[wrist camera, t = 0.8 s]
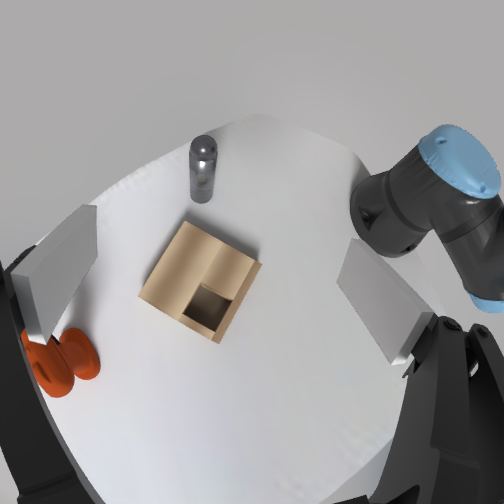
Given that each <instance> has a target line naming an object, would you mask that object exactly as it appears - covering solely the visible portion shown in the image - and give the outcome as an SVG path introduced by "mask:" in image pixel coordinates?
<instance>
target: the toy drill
mask: <svg viewBox="0 0 504 504" xmlns="http://www.w3.org/2000/svg"><path fill="white" fill-rule="evenodd" d="M0 263H1V261H0ZM1 268H2V272H4V269H3V267H2V264H1ZM21 338H22V341H23V344H24V347H25V350H26V353H27V356H28V359H29V362H30V365H31V368H32V370H33V373H34V376H35V378H36V381H37V382H38V383H39V385H40V386H41V387H42V388H43V389H44V391H45V392H46V393H47V394H48V395H50V396H51V397H55V398H59V397H63V396H65V395H67V394H68V393H69V392H70V391H71V390H72V388H73V385H74V381H75V377H74V374H75V375H76V376H77V377H78V378H80V379H83V380H90V379H92V378H94V377H96V376H97V375H98V374H99V371H100V363H99V359H98V357H97V354H96V352H95V350H94V348H93V346H92V344H91V343H90V341H89V339H88V338H87V337H86V335H85V334H84V333H83V332H82V331H80V330H79V329H76V328H71V329H68V330H66V331H65V332H64V333H63V334H62V335H61V336H60V338H59V341H58V340H57V339H56V338H55V337H54V336H53V335H52V334H51V336H50V338H49V340H48V342H47V344H46V345H45V344H41V343H37V342H33V341H30V340H29V338H28V335H27V332H26V329H24V330H23V332H22V334H21Z"/></svg>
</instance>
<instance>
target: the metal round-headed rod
mask: <svg viewBox="0 0 504 504" xmlns="http://www.w3.org/2000/svg"><path fill="white" fill-rule="evenodd" d="M216 161H217V144H216V141H215V140H214V139H213V138H212V137H210V136H208V135H201V136H198V137H196V138H195V139H194V140H193V141H192V143H191V146H190V152H189V163H190V195H191V198H192V200H193V201H195V202H196V203H200V204H202V203H206V202H208V201H209V200H210V199H211V198H212V194H213V185H214V177H215V169H216Z"/></svg>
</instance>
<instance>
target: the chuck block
mask: <svg viewBox="0 0 504 504" xmlns="http://www.w3.org/2000/svg"><path fill="white" fill-rule="evenodd" d="M261 265H262V264H261V263H259V262H257V261H255V260H254V259H252V258H250V257H248V256H247V255H245V254H243V253H241V252H239V251H238V250H236V249H234V248H232V247H231V246H229V245H227V244H225V243H224V242H222V241H220V240H218V239H216V238H215V237H213V236H211V235H209V234H208V233H206V232H204V231H202V230H201V229H199V228H197V227H195V226H194V225H192V224H190V223H188V222H187V221H184V223H183V224H182V226H181V228H180V229H179V231H178V232H177V234H176V235H175V237H174V238H173V240H172V241H171V243H170V244H169V246H168V248H167V249H166V251H165V252H164V254H163V256H162V257H161V259H160V260H159V262H158V264H157V265H156V267H155V268H154V270H153V272H152V273H151V275H150V277H149V278H148V280H147V282H146V283H145V285H144V287H143V288H142V290H141V292H140V293H139V295H138V297H140V298H141V299H143V300H144V301H146V302H148V303H149V304H151V305H152V306H154V307H156V308H157V309H159V310H160V311H162V312H164V313H165V314H167V315H169V316H170V317H172V318H174V319H175V320H177V321H179V322H180V323H182V324H184V325H186V326H187V327H189V328H191V329H192V330H194V331H196V332H198V333H200V334H201V335H203V336H205V337H207V338H208V339H210V340H212V341H214V342H216V343H218V344H219V343H220V341H221V339H222V337H223V335H224V334H225V332H226V330H227V328H228V326H229V324H230V323H231V321H232V319H233V317H234V315H235V314H236V312H237V310H238V308H239V306H240V304H241V302H242V301H243V299H244V297H245V295H246V293H247V291H248V290H249V288H250V286H251V284H252V282H253V280H254V278H255V277H256V275H257V273H258V271H259V269H260V267H261Z"/></svg>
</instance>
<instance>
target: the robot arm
mask: <svg viewBox="0 0 504 504" xmlns="http://www.w3.org/2000/svg"><path fill="white" fill-rule="evenodd" d="M500 187H501V177H500V173H499V171H498V170H497V169H496V163H495V162H494V160H493V158H492V157H491V155H490V153H489V152H488V151H487V150H486V148H485V147H484V146H483V145H482V144H481V143H480V142H479V141H478V140H477V139H476V138H475V137H474V136H473V135H472V134H470V133H469V132H467V131H466V130H463V129H462V128H460V127H457V126H454V125H449V124H446V125H441V126H439V127H437V128H436V129H434V130H433V131H432V132H431V133H430V134H428V135H426V136H424V137H423V138H421V139H420V142H419V143H418V144H417V145H416V146H415V147H414V148H413V149H412V150H411V151H410V152H409V153H408V154H407V155H406V156H405V157H404V158H403V159H401V160H400V161H399V162H398V163H397V164H396V165H395V166H394V167H393V168H392V169H390V170H389V171H386V172H382V173H380V174H376V175H372V176H370V177H368V178H366V179H365V180H364V181H362V182H361V183H360V184H359V185H358V186H357V187H356V189H355V190H354V192H353V194H352V197H351V202H350V212H351V218H352V221H353V224H354V227H355V229H356V231H357V233H358V235H359V236H360V238H361V239H362V240H358V239H351V242H350V245H349V248H348V251H347V254H346V257H345V260H344V263H343V266H342V268H341V271H340V274H339V277H338V280H337V284H338V285H339V287H340V288H341V290H342V291H343V293H344V294H345V295H346V297H347V298H348V300H349V301H350V303H351V304H352V306H353V307H354V309H355V310H356V312H357V313H358V315H359V316H360V318H361V319H362V321H363V322H364V324H365V325H366V327H367V329H368V330H369V332H370V333H371V335H372V336H373V338H374V339H375V341H376V342H377V344H378V346H379V347H380V349H381V350H382V352H383V353H384V355H385V357H386V358H387V360H388V361H389V363H390V365H397V364H404V363H405V361H406V360H407V358H408V356H409V355H410V353H412V355H413V356H414V360H413V361H412V363H411V364H410V366H409V367H408V369H407V370H406V372H405V373H404V375H403V377H402V378H405V376H406V375H408V379H407V380H408V381H407V386H406V390H405V395H404V400H403V404H402V408H401V412H400V416H399V420H398V424H397V428H396V432H395V435H394V439H393V442H392V445H391V449H390V452H389V455H388V458H387V461H386V464H385V467H384V470H383V473H382V476H381V479H380V481H379V484H378V487H377V488H376V490H375V492H374V493H373V495H372V496H371V497H370V498H369V499H367V496H366V495H363V496H360V497H357V498H353V499H349V500H346V501H342V502H338V503H334V504H504V357H503V355H502V353H501V351H500V349H499V347H498V345H497V343H496V341H495V339H494V337H493V335H492V334H491V332H490V331H489V330H488V328H487V327H485V326H483V325H480V324H473V325H472V327H471V329H470V330H469V332H465V331H463V330H462V327H461V326H460V325H459V324H458V323H457V322H456V321H455V320H454V319H451V318H449V317H446V316H440V317H438V316H437V315H436V314H435V313H434V311H433V310H432V309H431V308H430V307H429V305H428V304H427V303H426V302H425V301H424V300H423V299H422V298H421V297H420V296H419V295H418V294H417V293H416V292H415V291H414V290H413V289H412V288H411V287H410V286H409V284H408V283H407V282H406V281H405V280H404V279H403V278H402V277H401V276H400V275H399V274H398V273H397V272H396V271H395V270H394V269H393V268H392V267H391V266H390V265H389V264H388V263H387V262H386V261H384V260H383V259H382V258H381V257H380V256H379V255H378V254H380V255H382V256H385V257H390V258H396V257H400V256H403V255H405V254H407V253H409V252H411V251H412V250H414V249H415V248H416V247H417V246H418V244H419V243H420V242H421V241H422V239H423V238H424V237H425V236H426V234H427V233H428V232H429V231H430V230H432V229H434V230H435V232H436V233H437V235H438V237H439V238H440V240H441V242H442V244H443V246H444V247H445V249H446V251H447V253H448V255H449V256H450V258H451V260H452V262H453V264H454V266H455V268H456V270H457V272H458V273H459V275H460V277H461V279H462V283H463V286H464V289H465V290H466V291H467V293H468V294H469V295H470V297H471V299H472V301H473V303H474V305H475V306H476V307H477V308H478V309H480V310H482V311H484V312H487V313H502V312H504V204H503V202H502V200H501V198H500V197H499V195H498V191H499V190H500ZM377 253H378V254H377ZM96 258H97V206H94V205H82V206H80V208H78V209H77V210H76V211H74V212H73V213H72V214H71V215H70V216H69V217H68V218H66V219H65V220H64V221H63V222H62V223H61V224H60V225H59V226H57V227H56V228H55V229H54V230H53V231H52V232H51V233H50V234H49V235H48V236H47V237H46V238H45V239H44V240H42V241H41V242H40V243H39V244H38V245H34V246H32V247H30V248H28V249H26V250H25V251H24V252H23V253H21V254H20V255H19V257H18V258H16V259H15V260H14V262H13V263H12V264H11V265H10V266H9V267H8V268H7V269H6V270H5V271H4V272H2V268H1V263H0V447H1V449H2V452H3V455H4V457H5V460H6V462H7V465H8V467H9V470H10V472H11V474H12V477H13V479H14V481H15V483H16V485H17V488H18V490H19V496H18V498H17V502H18V504H105V502H104V501H103V500H102V499H101V497H100V496H99V494H98V493H97V492H96V490H95V489H94V487H93V486H92V484H91V483H90V482H89V480H88V479H87V477H86V476H85V474H84V472H83V471H82V469H81V468H80V466H79V465H78V463H77V461H76V460H75V458H74V456H73V455H72V453H71V451H70V449H69V448H68V446H67V444H66V442H65V441H64V439H63V437H62V435H61V433H60V431H59V429H58V427H57V425H56V423H55V421H54V419H53V417H52V415H51V413H50V411H49V409H48V407H47V404H46V402H45V400H44V398H43V395H42V393H41V391H40V388H39V386H38V383H37V381H36V378H35V376H34V373H33V370H32V368H31V365H30V362H29V359H28V356H27V353H26V350H25V347H24V344H23V341H22V338H21V334H22V332H23V330H24V329H26V332H27V335H28V338H29V340H30V341H33V342H37V343H41V344H45V345H46V344H47V342H48V340H49V338H50V336H51V334H52V332H53V331H54V329H55V327H56V325H57V323H58V321H59V319H60V318H61V316H62V314H63V312H64V311H65V309H66V307H67V305H68V304H69V302H70V300H71V298H72V297H73V295H74V293H75V292H76V290H77V288H78V287H79V285H80V283H81V282H82V280H83V279H84V277H85V275H86V274H87V272H88V271H89V269H90V267H91V266H92V264H93V263H94V261H95V260H96ZM477 363H478V370H477V371H476V373H475V374H474V375H473V376H471V374H470V372H471V371H472V370H473V368H474V367H475V365H476V364H477Z"/></svg>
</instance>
